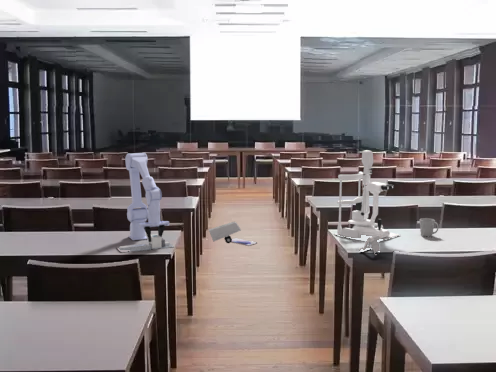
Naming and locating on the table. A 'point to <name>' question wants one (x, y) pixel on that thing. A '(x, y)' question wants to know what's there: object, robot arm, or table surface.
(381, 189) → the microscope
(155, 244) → the block
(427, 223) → the cup
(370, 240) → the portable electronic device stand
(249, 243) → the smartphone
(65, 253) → the table surface
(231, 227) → the grey tilted panel
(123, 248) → the rail
